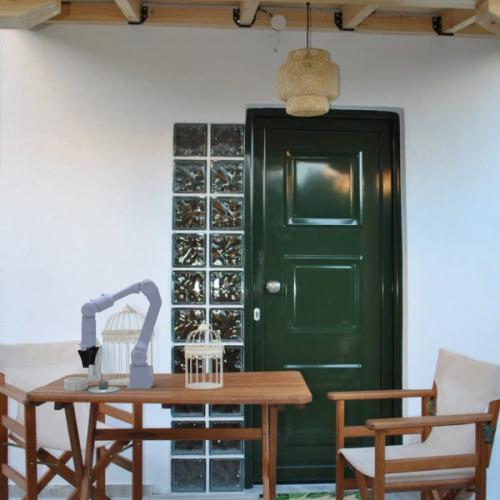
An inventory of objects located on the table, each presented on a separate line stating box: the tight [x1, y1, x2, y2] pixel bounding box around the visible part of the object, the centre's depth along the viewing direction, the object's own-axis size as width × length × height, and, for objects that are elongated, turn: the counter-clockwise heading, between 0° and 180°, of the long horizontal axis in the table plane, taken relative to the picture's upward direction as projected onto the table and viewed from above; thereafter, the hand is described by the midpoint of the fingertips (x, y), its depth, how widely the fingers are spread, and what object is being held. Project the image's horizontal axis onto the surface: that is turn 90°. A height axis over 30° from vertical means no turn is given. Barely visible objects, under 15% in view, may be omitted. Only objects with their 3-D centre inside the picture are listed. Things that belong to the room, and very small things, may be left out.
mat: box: [82, 386, 124, 395], centre depth 256 cm, size 13×13×1 cm
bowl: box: [63, 377, 89, 392], centre depth 259 cm, size 9×9×4 cm
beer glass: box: [87, 344, 104, 382], centre depth 278 cm, size 7×7×15 cm
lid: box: [87, 380, 120, 393], centre depth 256 cm, size 12×12×3 cm
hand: (88, 366), depth 260 cm, fingers open, 7 cm apart
